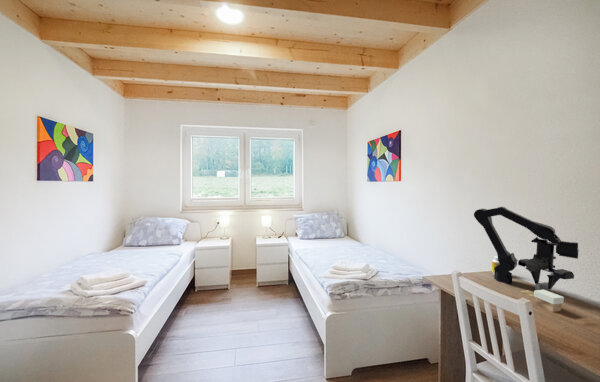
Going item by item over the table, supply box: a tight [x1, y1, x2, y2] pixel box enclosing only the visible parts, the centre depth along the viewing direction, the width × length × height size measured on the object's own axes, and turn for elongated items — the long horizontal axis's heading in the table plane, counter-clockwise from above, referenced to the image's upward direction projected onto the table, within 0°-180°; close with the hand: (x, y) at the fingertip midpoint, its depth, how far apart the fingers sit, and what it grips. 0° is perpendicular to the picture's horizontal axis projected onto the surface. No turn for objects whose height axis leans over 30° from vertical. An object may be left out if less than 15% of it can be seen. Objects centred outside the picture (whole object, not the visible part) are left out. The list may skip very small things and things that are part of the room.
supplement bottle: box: [491, 255, 499, 276], centre depth 137 cm, size 6×6×10 cm
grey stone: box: [534, 281, 552, 291], centre depth 116 cm, size 7×3×5 cm, turn 102°
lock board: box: [519, 289, 563, 313], centre depth 107 cm, size 17×13×4 cm
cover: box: [533, 289, 565, 304], centre depth 101 cm, size 7×5×2 cm
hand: (543, 286), depth 116 cm, fingers open, 5 cm apart
